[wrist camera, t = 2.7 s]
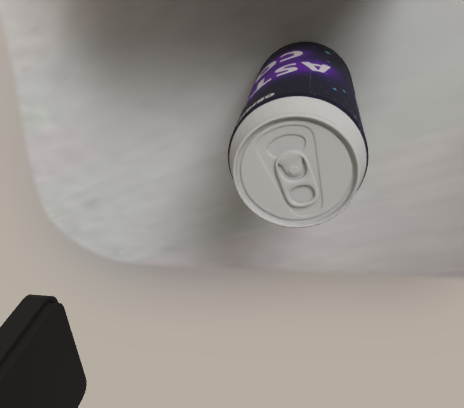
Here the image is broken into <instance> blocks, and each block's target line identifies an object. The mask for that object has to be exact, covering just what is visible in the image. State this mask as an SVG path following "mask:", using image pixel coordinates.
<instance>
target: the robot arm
mask: <svg viewBox="0 0 464 408" xmlns="http://www.w3.org/2000/svg"><path fill="white" fill-rule="evenodd" d="M85 390H86V377H85V374H84V371H83V368H82V364H81V361H80V358H79V355H78V351H77V348H76V345H75V342H74V338H73V335H72V332H71V329H70V325H69V322H68V319H67V316H66V312H65V309H64V307H63V305H62V304H61V303H58V301H57V299H56V298H55V297H53V296H42V295H28V296H26V297H25V298H24V299H23V300H22V301H21V302H20V304H19V305H18V306H17V307H16V309H15V310H14V311H13V312H12V314H11V315H10V316H9V317H8V318H7V320H6V321H5V322H4V323H3V325H2V326H1V327H0V408H78V406H79V404H80V402H81V400H82V398H83V396H84V393H85Z"/></svg>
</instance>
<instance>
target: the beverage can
mask: <svg viewBox="0 0 464 408" xmlns="http://www.w3.org/2000/svg"><path fill="white" fill-rule="evenodd" d="M228 163H229V169H230V172H231V175H232V178H233V180H234V184H235V187H236V190H237V192H238V194H239V196H240V198H241V199H242V201H243V202H244V204H245V205H246V206H247V207H248V208H249V209H250V210H251V211H252V212H253V213H255V214H256V215H257V216H259V217H260V218H262V219H264V220H266V221H268V222H270V223H273V224H276V225H279V226H283V227H290V228H303V227H311V226H315V225H319V224H321V223H324V222H326V221H328V220H330V219H332V218H334V217H335V216H337V215H338V214H339V213H340V212H342V211H343V210H344V209H345V208H346V207H347V206H348V204H349V203H350V202H351V200H352V199H353V197H354V195H355V193H356V191H357V190H358V188H359V187H360V185H361V183H362V182H363V179H364V177H365V174H366V170H367V166H368V146H367V142H366V137H365V133H364V129H363V125H362V121H361V117H360V112H359V108H358V104H357V100H356V96H355V92H354V87H353V83H352V79H351V75H350V72H349V70H348V67H347V65H346V64H345V62H344V61H343V59H342V58H341V57H340V56H339V55H338V54H337V53H336V52H334V51H333V50H331V49H330V48H328V47H326V46H324V45H321V44H318V43H313V42H298V43H293V44H290V45H287V46H285V47H283V48H281V49H279V50H278V51H276V52H275V53H274V54H272V55H271V56H270V57H269V58H268V59H267V61H266V62H265V63H264V65H263V66H262V68H261V70H260V72H259V74H258V77H257V79H256V81H255V84H254V86H253V88H252V90H251V93H250V95H249V97H248V100H247V102H246V104H245V106H244V109H243V111H242V113H241V116H240V118H239V120H238V122H237V125H236V127H235V129H234V132H233V134H232V136H231V139H230V143H229V149H228Z"/></svg>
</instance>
